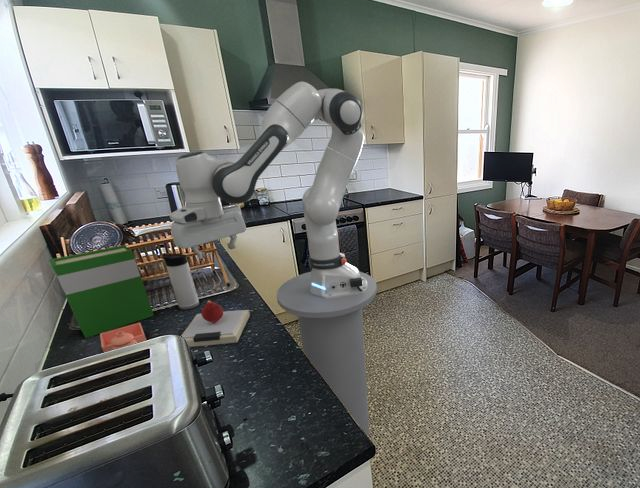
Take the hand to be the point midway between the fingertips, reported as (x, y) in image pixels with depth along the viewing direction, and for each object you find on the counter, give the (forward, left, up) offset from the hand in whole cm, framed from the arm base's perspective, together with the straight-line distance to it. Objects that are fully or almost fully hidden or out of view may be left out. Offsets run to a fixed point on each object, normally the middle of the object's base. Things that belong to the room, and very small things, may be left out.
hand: (217, 253), depth 108 cm
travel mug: (+18, -12, -24) cm, 33 cm away
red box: (+24, +15, -24) cm, 37 cm away
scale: (+3, +7, -24) cm, 25 cm away
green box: (+36, -4, -24) cm, 44 cm away
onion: (+3, +7, -21) cm, 22 cm away
